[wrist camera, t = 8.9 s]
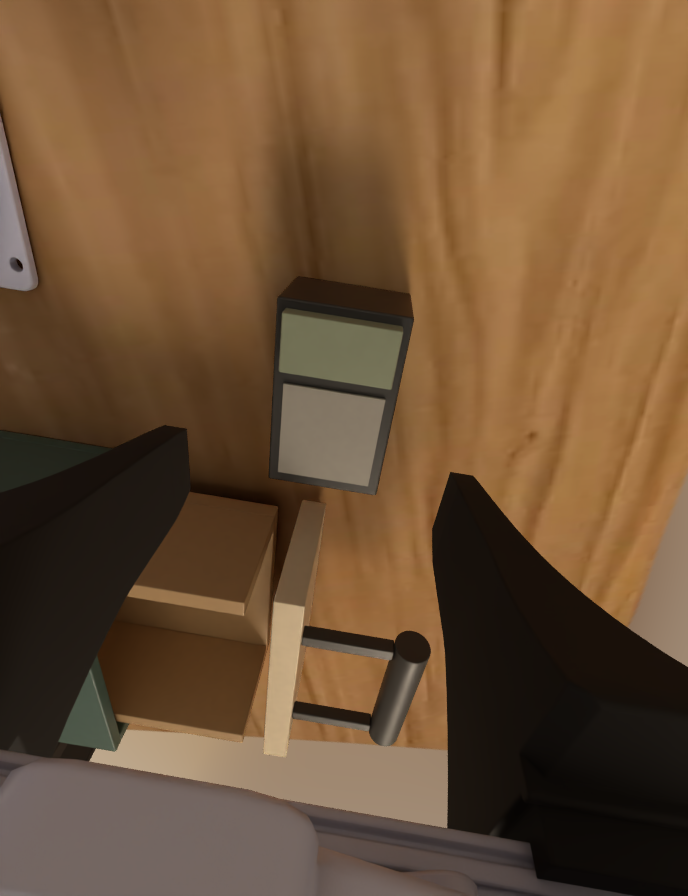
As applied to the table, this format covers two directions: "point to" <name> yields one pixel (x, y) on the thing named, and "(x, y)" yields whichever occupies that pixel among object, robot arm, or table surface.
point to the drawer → (239, 632)
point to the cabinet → (92, 719)
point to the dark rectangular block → (336, 382)
